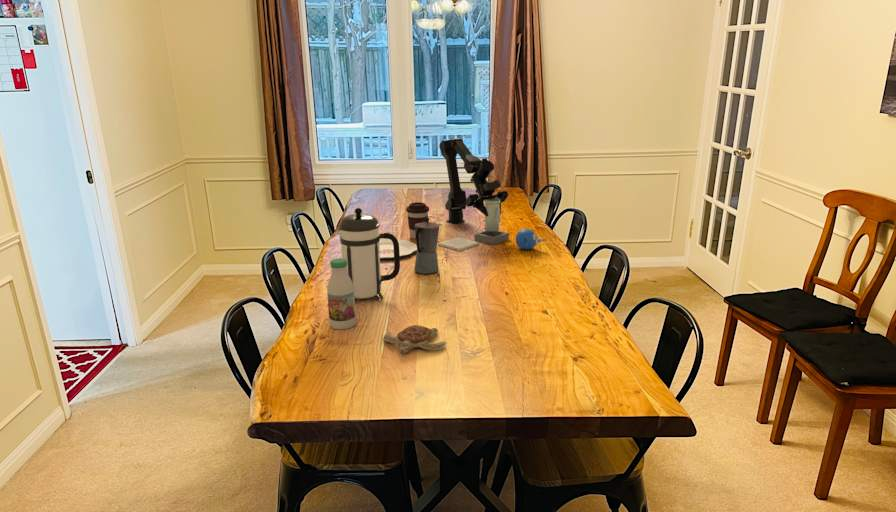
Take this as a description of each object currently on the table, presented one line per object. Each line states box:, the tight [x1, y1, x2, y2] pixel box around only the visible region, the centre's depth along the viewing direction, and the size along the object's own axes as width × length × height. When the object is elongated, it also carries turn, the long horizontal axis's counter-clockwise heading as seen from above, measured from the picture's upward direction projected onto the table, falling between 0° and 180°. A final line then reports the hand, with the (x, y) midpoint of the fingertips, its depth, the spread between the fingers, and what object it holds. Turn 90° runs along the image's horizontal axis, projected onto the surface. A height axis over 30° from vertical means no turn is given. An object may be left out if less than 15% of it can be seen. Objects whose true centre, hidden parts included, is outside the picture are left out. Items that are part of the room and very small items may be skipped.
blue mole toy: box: [515, 228, 546, 251], centre depth 237 cm, size 12×12×8 cm
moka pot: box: [414, 217, 440, 275], centre depth 211 cm, size 10×15×20 cm, turn 161°
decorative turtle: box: [382, 324, 447, 355], centre depth 159 cm, size 18×17×5 cm
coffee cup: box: [405, 201, 430, 240], centre depth 253 cm, size 10×10×15 cm
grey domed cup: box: [484, 198, 501, 231], centre depth 246 cm, size 9×7×13 cm
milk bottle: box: [326, 257, 357, 330], centre depth 167 cm, size 8×8×20 cm
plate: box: [379, 238, 418, 260], centre depth 236 cm, size 25×25×2 cm
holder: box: [474, 229, 510, 246], centre depth 250 cm, size 10×10×3 cm
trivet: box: [437, 236, 480, 252], centre depth 244 cm, size 12×12×1 cm
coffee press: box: [334, 207, 401, 302], centre depth 187 cm, size 17×16×30 cm
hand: (493, 215), depth 246 cm, fingers closed on grey domed cup, 6 cm apart
